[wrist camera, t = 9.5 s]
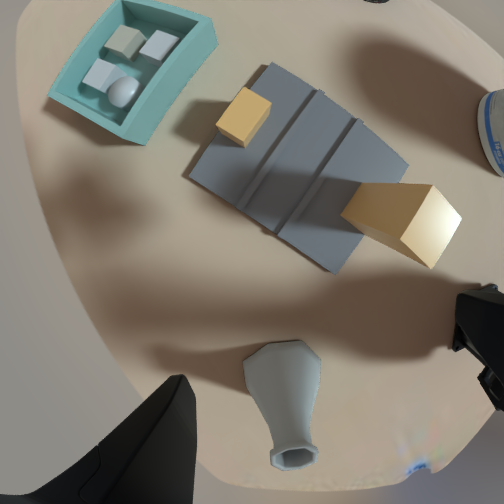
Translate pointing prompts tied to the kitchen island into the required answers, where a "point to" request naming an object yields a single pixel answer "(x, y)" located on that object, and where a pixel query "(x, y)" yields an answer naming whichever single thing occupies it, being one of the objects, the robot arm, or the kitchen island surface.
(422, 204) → the gray board with blocks
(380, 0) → the deodorant
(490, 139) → the supplement tub
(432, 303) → the kitchen island surface
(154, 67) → the tub
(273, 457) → the flask
